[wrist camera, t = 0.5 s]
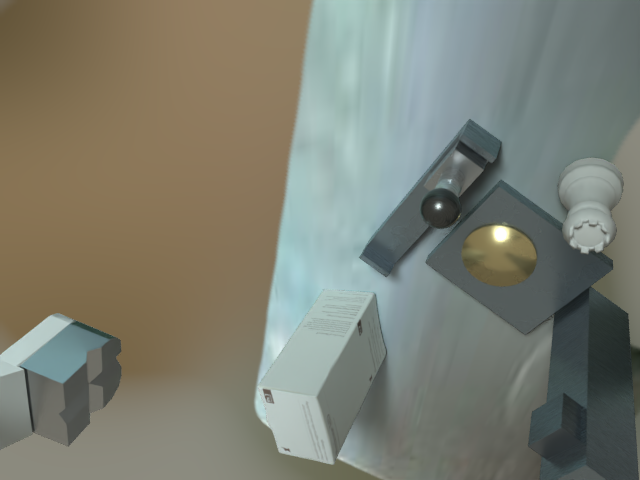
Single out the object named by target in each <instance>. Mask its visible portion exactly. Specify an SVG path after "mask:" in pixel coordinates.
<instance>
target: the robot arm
mask: <svg viewBox="0 0 640 480" xmlns="http://www.w3.org/2000/svg"><path fill="white" fill-rule="evenodd" d="M120 352H121V340H120V339H118V338H116V337H114V336H112V335H109V334H107V333H104V332H102V331H100V330H98V329H95V328H93V327H91V326H88V325H86V324H83V323H81V322H78V321H76V320H73V319H71V318H68V317H66V316H64V315H61V314H59V313H58V314H54V315H50V316H49V317H48V318H46V319H45V320H44V321H42V322H41V323H40V324H39V325H37V326H36V327H35V328H34V329H33V330H31V331H30V332H29V333H27V334H26V335H25V336H24V337H22V338H21V339H20V340H18V341H17V342H16V343H15V344H13V345H12V346H11V347H10V348H8V349H7V350H6V351H4V352H3V353H2V354H1V355H0V450H1V449H3V448H5V447H7V446H9V445H11V444H14V443H15V442H18V441H20V440H22V439H24V438H26V437H28V436H31V435H32V434H33V433H32V432H34V433H36V434H38V435H41V436H43V437H46V438H48V439H51V440H53V441H56V442H58V443H61V444H63V445H66V446H69V445H70V444H71V443H72V442H73V441H74V440H75V439H76V438H77V437H78V435H79V434H80V433H81V432H82V431H83V430H84V429H85V428H86V427H87V425H89V424H90V413H92V412H94V411H97V410H100V409H102V408H104V407H105V406H106V405H107V403H108V402H109V401H110V400H111V399H112V397H113V396H114V394H115V392H116V390H117V388H118V386H119V383H120V379H121V366H120V364H119V362H118V361H117V359H116V356H117V355H118V354H119V353H120Z"/></svg>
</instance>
